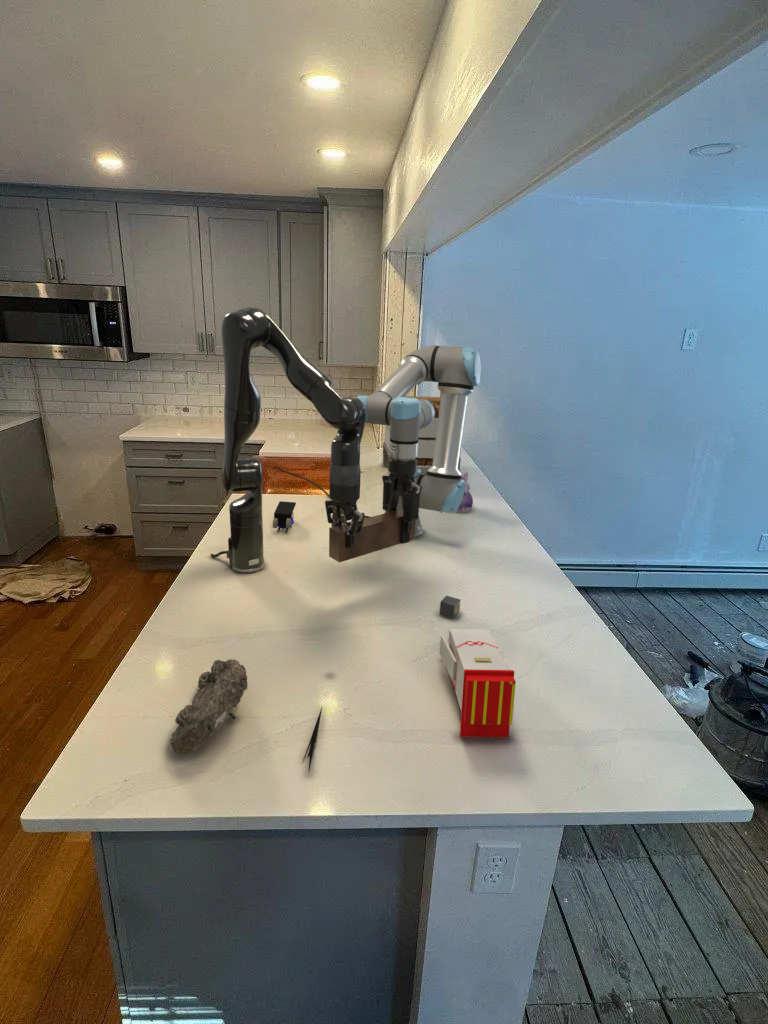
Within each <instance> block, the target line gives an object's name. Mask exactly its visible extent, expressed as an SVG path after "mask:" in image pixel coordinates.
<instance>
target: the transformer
mask: <svg viewBox="0 0 768 1024" xmlns="http://www.w3.org/2000/svg"><path fill="white" fill-rule="evenodd" d="M439 392H440V391H439ZM405 397H411V398H416V399H419V400H422V399H423V400H427V401H429V402H430V403H431V404H432V405H433V407H434V410H435V416H434V419H433V421H432V422H431V423H430V424H429V425H428V426H427V427H425V428H422V429H420V430H419V438H418V456H417V457H416V459H417V467H426V466H427V467H431V466H432V464H433V456H434V448H435V440H436V432H437V425H438V417H439V409H440V401H441V392H440V394H439V396H416V395H414V396H413V395H410V396H409V395H406V396H405ZM384 426H385V427H384V440H383V441H382V442H383V443H382V463H381V464H382V465H383V467H386V468H388V464H389V458H390V455H389V446H390V426H389V425H384ZM462 443H463V442H462V441H461V444H462ZM461 452H462V447H461V448H460V455H459V462H458V470H459V471H460V470H461V462H462V458H461ZM460 472H461V471H460Z"/></svg>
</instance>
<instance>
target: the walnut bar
mask: <svg viewBox="0 0 768 1024" xmlns="http://www.w3.org/2000/svg"><path fill="white" fill-rule="evenodd" d="M384 513H385V512H384ZM384 513H381V514H377V515H373V516H370V517H369V518H364V522H363V526H362V530H361V533H359V534H355V544H354V547H353V548H349V549H348V548H346V530H345V526H343V523H342V525H338V526H334V527H332V526H331V527H328V528H329V529H328V530H329V531H328V539H329V540H328V548H329V549H328V557H329V558H330V559H332V560H334V561H336V562H338V563H343V562H347V561H350V560H353V559H356V558H359V557H362V556H366V555H369V554H372V553H375V552H379V551H381V550H384V549H385V550H386V549H388V548H391V547H395V546H398V545H401V543H400V541H401V524H402V520H404V515H403V509H400V510H396V511H392V512H388V513H385V514H384ZM408 517H409V516H408ZM415 524H416V520H415V521H412V530H411V532H410V541H414V540H415V539H416V538H415ZM349 528H350V530H351V525H350V526H349ZM356 529H357V528H356ZM410 541H409V542H410Z"/></svg>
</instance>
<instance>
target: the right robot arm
mask: <svg viewBox="0 0 768 1024" xmlns="http://www.w3.org/2000/svg"><path fill="white" fill-rule="evenodd" d="M480 356H481V355H480V353H479V351H478V350H477V349H475V348H471V347H466V346H449V345H435V344H434V345H433V344H431V345H427V346H426V345H425V346H423V347H420V348H418V349H416V350H413V351H412V352H410V353H409V354H407V355H406V356H404V358H402V359H401V360H400V361H399V364H398V367H397V369H395V370H394V371H393V373H392V374H391V375H390V376H389V377H388V378H387V379H386V380H385V381H384V382H383V383H382V384H381V385H380V386H379V387H378V388H377V389H376V390H375V391H374V392H373V393H372V394H370V395H367V394H366V395H363V394H362V395H361V394H360V395H358V396H356V397H357V398H358V399H360V400H361V401H362V403H363V405H364V407H365V413H366V419H365V424H369V425H370V424H371V425H379V426H380V425H381V426H386V425H389V426H390V446H389V455H390V458H389V464H388V467H387V470H388V473H387V474H384V475H382V476H381V478H382V486H383V487H382V510H383V511H384V513H383V514H385V513H388V512H392V511H396V510H400V509H403V515H404V520H402V524H401V541H400V543H401V544H402V545H404V544H406V543H409V542H410V532H411V530H412V521H415V520H416V524H415V539H418V538H420V537H421V536H422V535H423V525H422V524H421V518H420V515H419V514H420V510H421V509H422V510H427V511H433V512H439V513H442V514H443V513H446V514H453V513H456V512H455V511H457V509H458V508H459V506H460V504H461V501H462V499H463V495H464V491H465V481H463V480H461V476H462V473H461V471H459V470H458V462H459V455H460V456H461V454H460V448H461V449H462V443H461V441H462V440H463V439H462V438H463V434H464V433H463V431H464V426H465V425H464V424H465V417H466V412H467V403H468V397H469V396H470V395H471V394H472V393H473V392H474V388H475V387H477V386H479V385H480V383H481V378H482V377H481V376H482V361H481V357H480ZM423 382H432V383H437V390H438V391H439V392H441V401H440V409H439V417H438V425H437V432H436V440H435V448H434V456H433V464H432V466H429V468H428V469H427V470H426V474H424V473H423V474H422V469H421V468H419V467H418V466H417V459H416V457H417V456H418V438H419V430H420V429H422V428H425V427H427V426H428V425H429V424H430V423H431V422H432V421H433V419H434V416H435V410H434V407H433V405H432V404H431V403H430V402H429V401H427V400H423V399H422V400H419V399H416V398H411V397H405V396H408V394H409V393H410V392H411V391H412V389H414V387H416V386H417V385H420V384H422V383H423ZM275 469H277V470H279V471H281V472H282V473H285V474H289V475H292V476H295V477H297V478H300V479H303V480H305V481H307V482H308V483H310V484H312V485H314V486H315V487H316V488H318V489H320V491H322V492H323V493H324V494H325V495H327V497H329V493H328V492H327V491H326V490H325V489H324V488H323V487H322V486H320V485H319V484H317V483H316V482H314V481H312V480H310V479H309V478H306V477H303V476H301V475H299V474H295V473H293V472H290V471H287V470H284V469H281V467H279V466H273V467H272V470H275ZM408 516H409V517H408ZM369 517H371V516H369V515H365V518H369ZM365 518H364V519H365ZM401 544H400V545H401Z"/></svg>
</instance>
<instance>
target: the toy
mask: <svg viewBox="0 0 768 1024" xmlns="http://www.w3.org/2000/svg"><path fill="white" fill-rule="evenodd" d="M438 654H439V656H440V658H441V660H442V662H443V665H444V666H445V668H446V671H447V673H448V675H449V677H450V681H451V683H452V685H453V689H454V690H455V695H456V698H457V702H458V705H459V708H460V726H459V737H460V738H509V737H510V728H511V727H510V726H512V725H513V717H514V706H515V705H514V704H515V693H516V684H517V683H516V679H515V670H514V669H510V667H509V666H508V663H507V662H506V660H505V658H504V655H503V654H502V652H501V650H500V648H499V644H498V642H497V638H496V635H495V634H492V632H491V631H490V629H467V628H466V629H465V628H463V629H461V628H460V629H459V628H450V629H449V631H448V641H447V639H446V638H445V636H444V634H443V635H442V634H441V635H440V641H439V651H438Z"/></svg>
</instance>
